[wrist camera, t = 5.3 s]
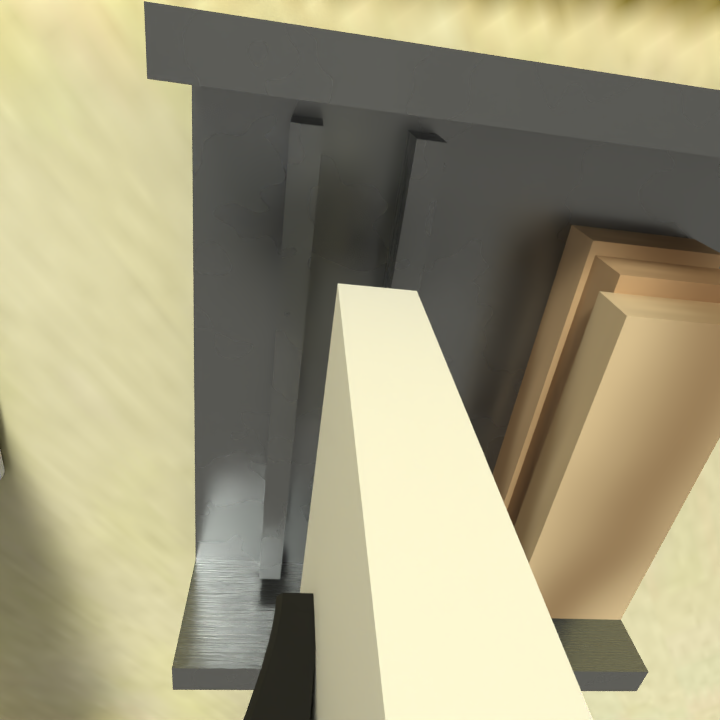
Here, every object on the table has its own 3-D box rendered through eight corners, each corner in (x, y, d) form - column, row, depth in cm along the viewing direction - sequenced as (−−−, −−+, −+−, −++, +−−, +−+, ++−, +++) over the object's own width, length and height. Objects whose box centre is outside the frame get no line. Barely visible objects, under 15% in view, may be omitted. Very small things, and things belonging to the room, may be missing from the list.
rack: (200, 556, 24) (172, 689, 19) (199, 12, 15) (143, 1, 10) (575, 569, 27) (636, 691, 22) (788, 103, 17) (983, 131, 12)
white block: (290, 672, 16) (274, 1192, 9) (337, 283, 11) (400, 853, 3) (342, 672, 17) (367, 1182, 9) (416, 291, 11) (643, 844, 3)
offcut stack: (473, 519, 23) (507, 619, 19) (565, 224, 17) (641, 280, 13) (577, 523, 23) (630, 621, 20) (700, 239, 18) (811, 298, 14)
